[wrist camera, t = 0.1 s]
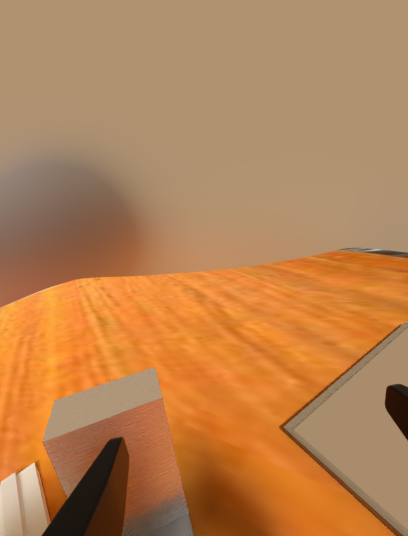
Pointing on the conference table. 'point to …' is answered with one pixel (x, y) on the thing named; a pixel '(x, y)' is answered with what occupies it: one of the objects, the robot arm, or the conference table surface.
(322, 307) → the conference table surface
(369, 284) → the conference table surface
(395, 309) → the conference table surface
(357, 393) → the grey flat bordered slab
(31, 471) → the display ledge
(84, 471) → the tall brushed metal block
